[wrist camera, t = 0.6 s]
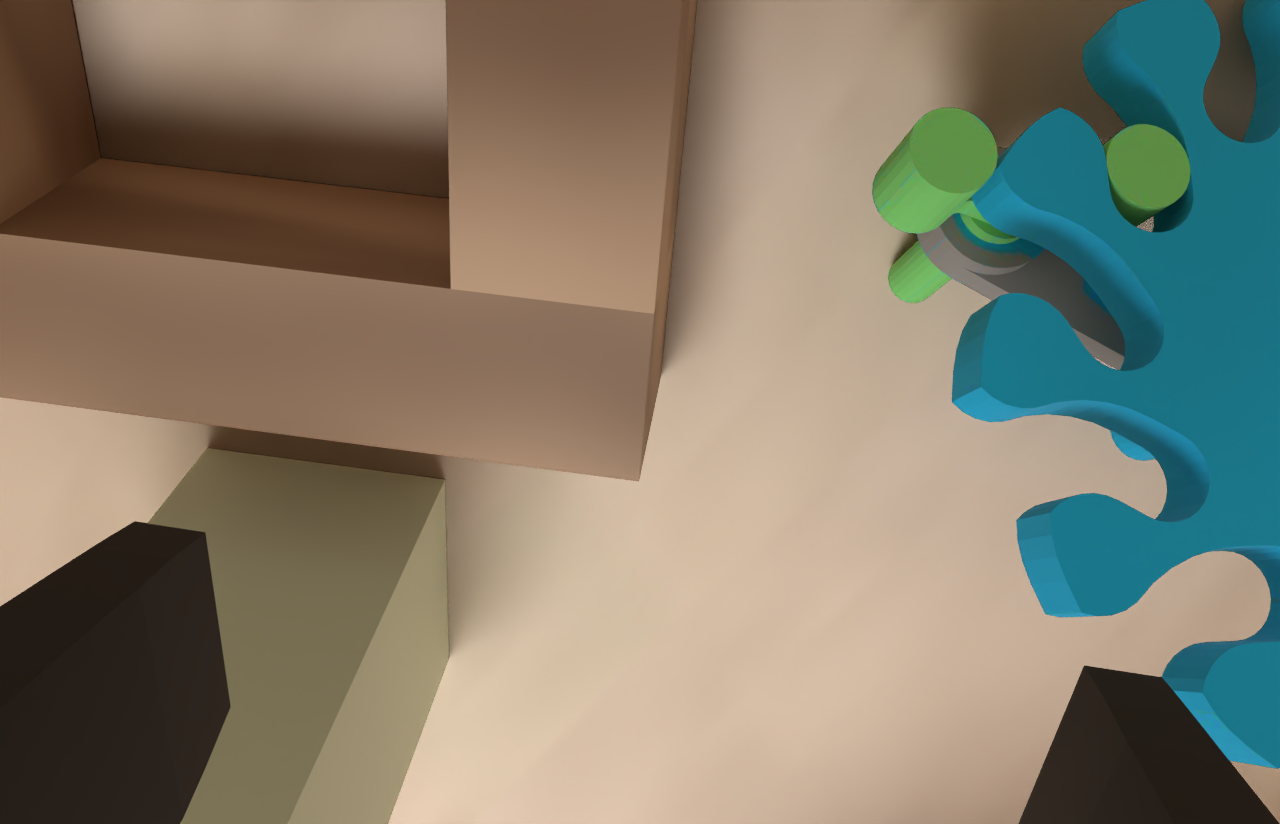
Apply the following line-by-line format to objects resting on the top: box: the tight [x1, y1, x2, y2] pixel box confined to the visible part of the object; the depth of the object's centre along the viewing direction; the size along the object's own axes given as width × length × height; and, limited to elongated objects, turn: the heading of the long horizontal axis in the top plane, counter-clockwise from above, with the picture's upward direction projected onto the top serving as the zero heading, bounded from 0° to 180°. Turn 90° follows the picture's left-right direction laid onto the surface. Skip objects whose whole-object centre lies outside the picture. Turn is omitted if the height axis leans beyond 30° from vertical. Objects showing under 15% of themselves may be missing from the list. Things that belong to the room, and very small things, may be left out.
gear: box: [872, 0, 1280, 769], centre depth 15 cm, size 11×6×10 cm
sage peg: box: [148, 448, 449, 824], centre depth 18 cm, size 4×4×9 cm
